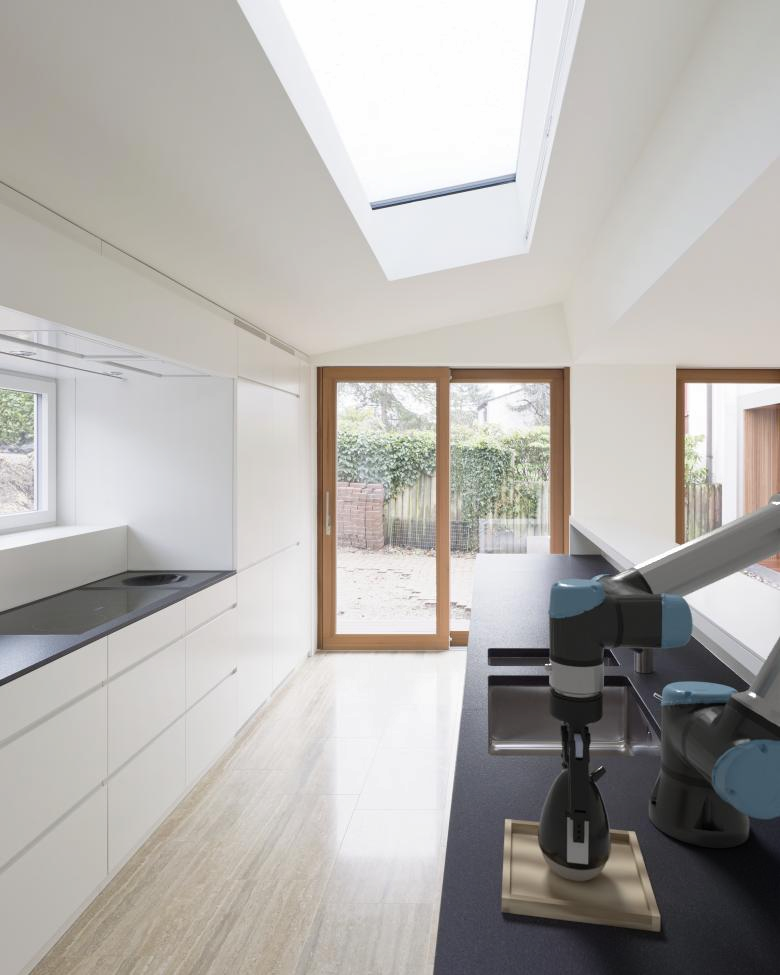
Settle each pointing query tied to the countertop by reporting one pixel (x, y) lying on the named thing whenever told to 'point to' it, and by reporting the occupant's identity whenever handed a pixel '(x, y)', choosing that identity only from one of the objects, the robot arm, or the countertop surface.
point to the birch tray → (577, 883)
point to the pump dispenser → (555, 830)
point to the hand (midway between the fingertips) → (573, 836)
